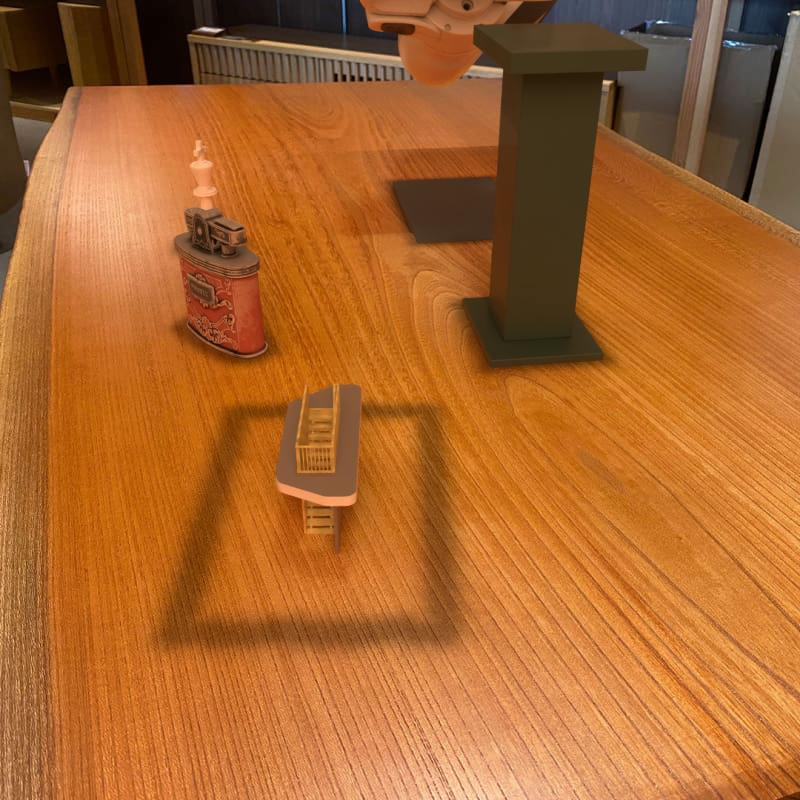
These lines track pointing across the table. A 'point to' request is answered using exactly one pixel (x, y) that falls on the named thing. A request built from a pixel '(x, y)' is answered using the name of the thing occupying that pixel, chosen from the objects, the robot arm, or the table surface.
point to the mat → (448, 208)
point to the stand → (543, 186)
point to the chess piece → (203, 176)
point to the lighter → (221, 284)
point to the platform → (322, 455)
